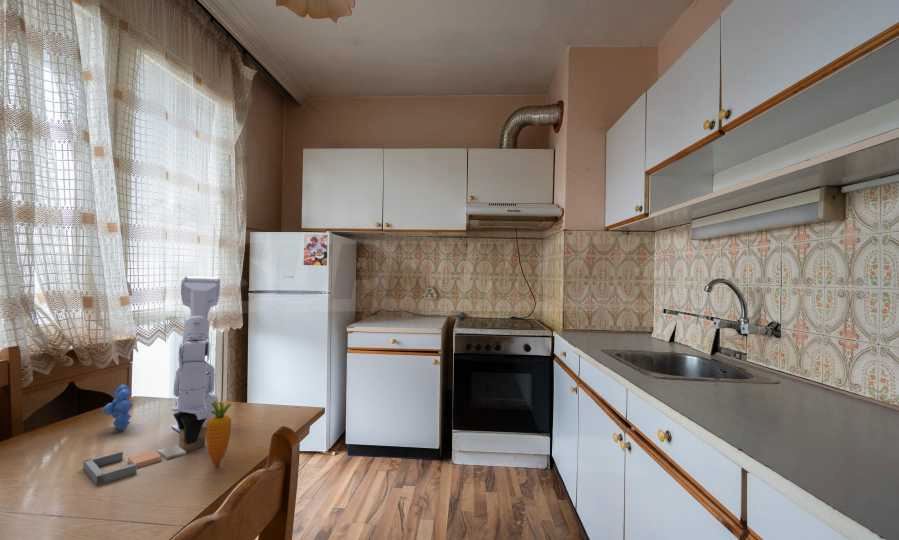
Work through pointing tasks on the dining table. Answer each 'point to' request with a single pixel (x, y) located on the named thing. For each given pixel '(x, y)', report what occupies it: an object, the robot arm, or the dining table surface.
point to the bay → (101, 477)
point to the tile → (144, 458)
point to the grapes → (120, 407)
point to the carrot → (218, 433)
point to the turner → (183, 445)
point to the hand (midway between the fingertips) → (189, 441)
